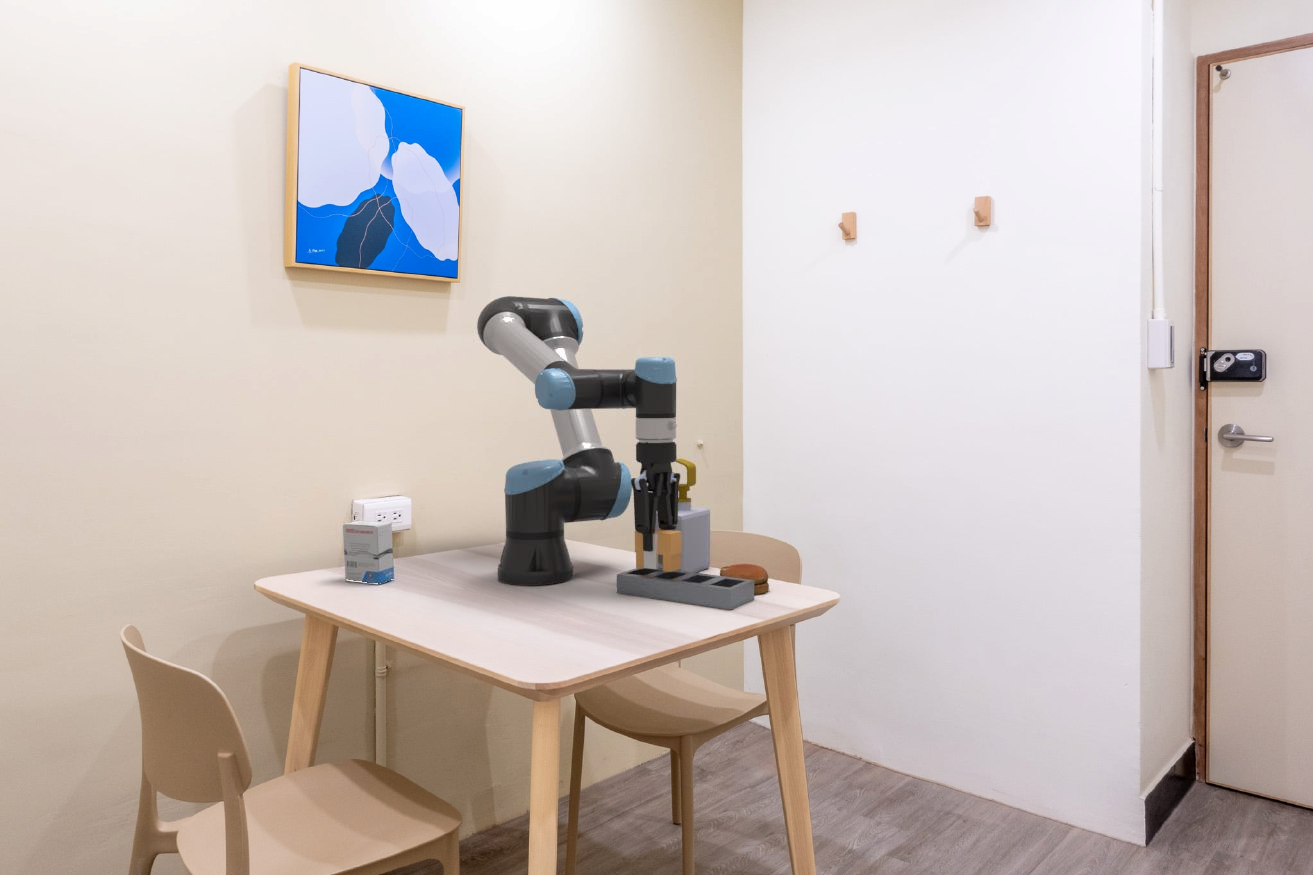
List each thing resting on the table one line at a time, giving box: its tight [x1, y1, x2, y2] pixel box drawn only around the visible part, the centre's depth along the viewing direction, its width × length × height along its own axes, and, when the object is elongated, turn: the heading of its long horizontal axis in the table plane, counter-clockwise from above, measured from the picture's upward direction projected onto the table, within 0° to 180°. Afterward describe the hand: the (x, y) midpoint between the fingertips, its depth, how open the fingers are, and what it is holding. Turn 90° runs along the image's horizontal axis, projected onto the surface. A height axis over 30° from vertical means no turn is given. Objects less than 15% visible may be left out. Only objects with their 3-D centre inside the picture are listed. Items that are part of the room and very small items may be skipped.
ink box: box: [342, 520, 395, 585], centre depth 176 cm, size 9×5×12 cm, turn 68°
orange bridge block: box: [634, 529, 682, 572], centre depth 165 cm, size 8×4×7 cm, turn 57°
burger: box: [719, 563, 770, 595], centre depth 168 cm, size 10×9×5 cm
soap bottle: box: [655, 458, 711, 573], centre depth 184 cm, size 12×7×23 cm, turn 147°
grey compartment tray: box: [616, 567, 755, 611], centre depth 163 cm, size 24×9×4 cm, turn 57°
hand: (657, 566), depth 165 cm, fingers closed on orange bridge block, 4 cm apart
